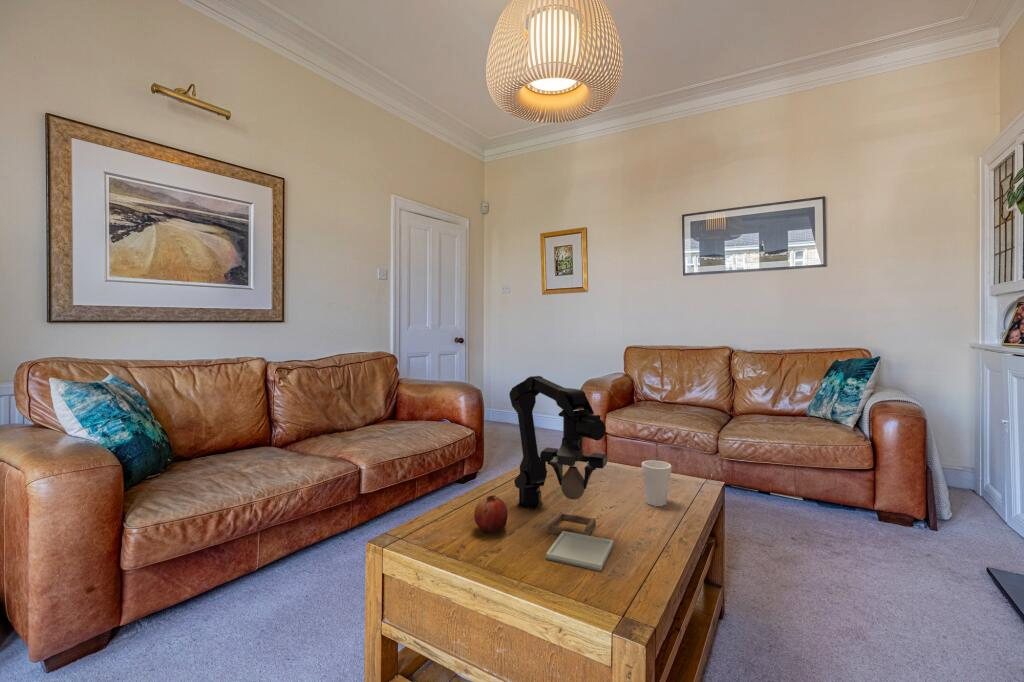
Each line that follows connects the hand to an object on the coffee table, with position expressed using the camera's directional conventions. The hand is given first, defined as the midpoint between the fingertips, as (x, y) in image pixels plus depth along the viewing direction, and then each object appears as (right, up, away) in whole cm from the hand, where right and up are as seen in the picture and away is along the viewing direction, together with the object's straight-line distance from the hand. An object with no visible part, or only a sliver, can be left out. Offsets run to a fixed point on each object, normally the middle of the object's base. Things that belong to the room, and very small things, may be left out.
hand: (572, 486), depth 131 cm
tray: (0, -13, -14) cm, 19 cm away
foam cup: (+30, -12, +20) cm, 38 cm away
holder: (0, -12, 0) cm, 12 cm away
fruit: (-24, -13, -1) cm, 27 cm away
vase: (0, -3, 0) cm, 3 cm away
